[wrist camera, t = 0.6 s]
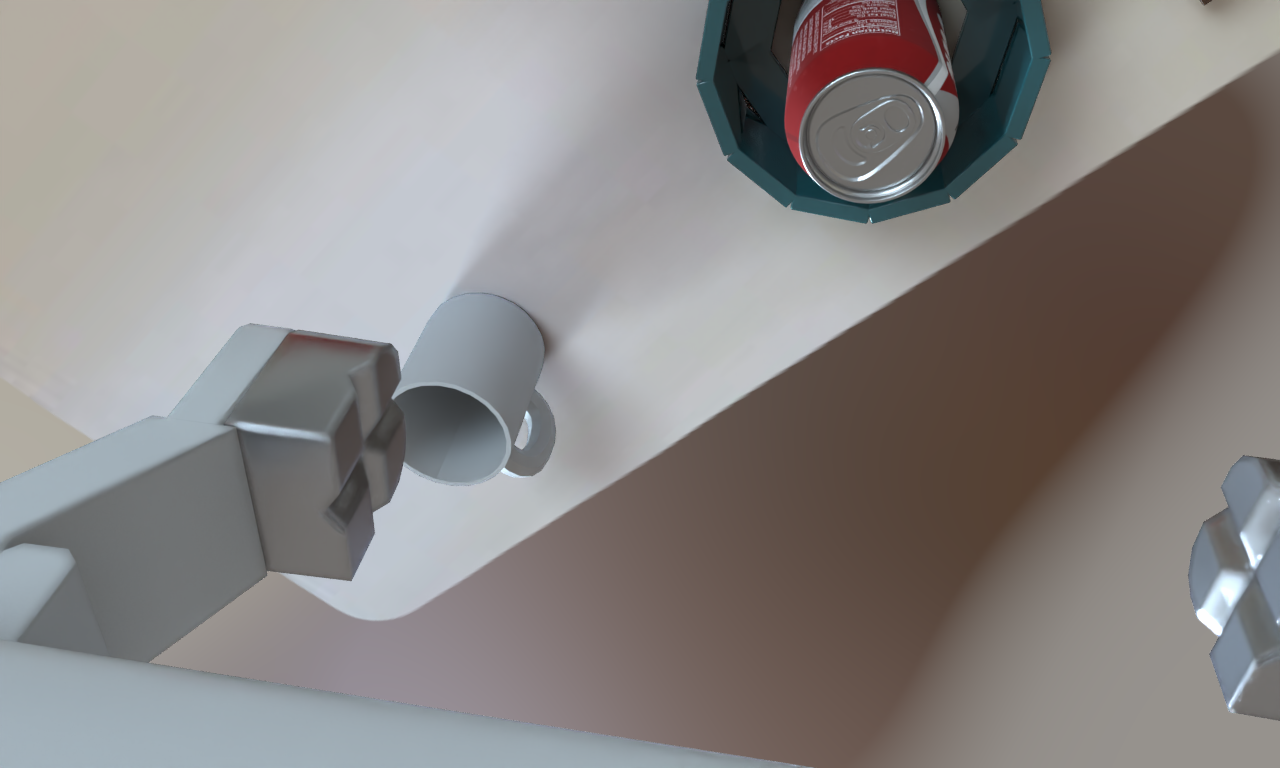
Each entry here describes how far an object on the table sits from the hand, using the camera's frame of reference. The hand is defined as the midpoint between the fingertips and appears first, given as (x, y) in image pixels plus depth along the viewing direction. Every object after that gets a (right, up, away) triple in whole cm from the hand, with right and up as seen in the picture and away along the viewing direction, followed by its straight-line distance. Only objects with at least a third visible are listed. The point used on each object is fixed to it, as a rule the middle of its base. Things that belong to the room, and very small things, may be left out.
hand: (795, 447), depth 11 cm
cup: (-10, +2, +56) cm, 57 cm away
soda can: (+9, +17, +41) cm, 45 cm away
